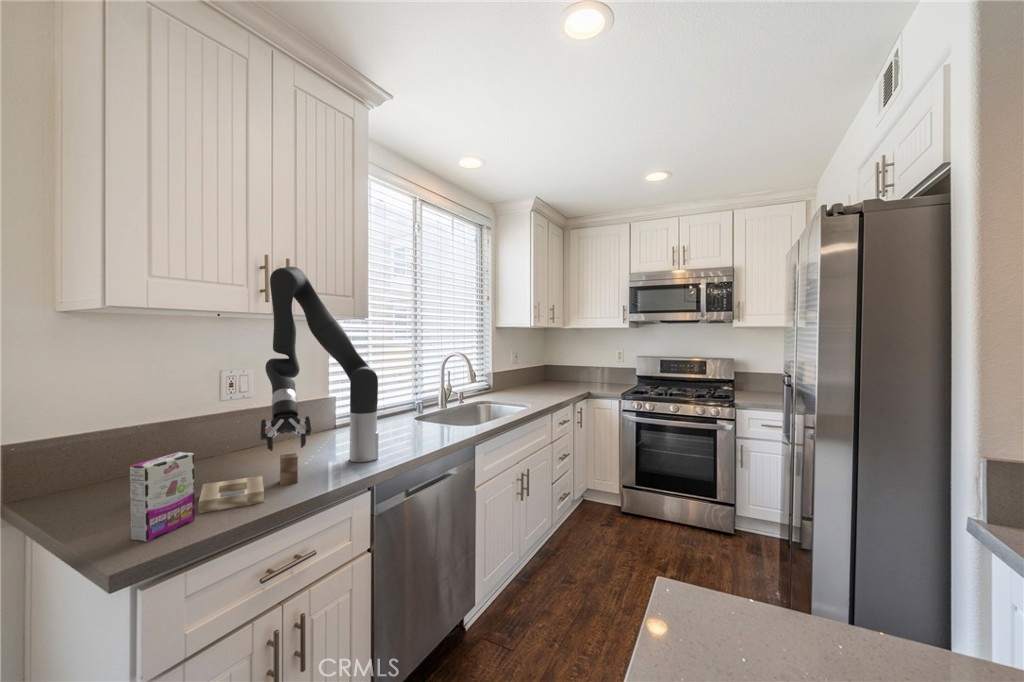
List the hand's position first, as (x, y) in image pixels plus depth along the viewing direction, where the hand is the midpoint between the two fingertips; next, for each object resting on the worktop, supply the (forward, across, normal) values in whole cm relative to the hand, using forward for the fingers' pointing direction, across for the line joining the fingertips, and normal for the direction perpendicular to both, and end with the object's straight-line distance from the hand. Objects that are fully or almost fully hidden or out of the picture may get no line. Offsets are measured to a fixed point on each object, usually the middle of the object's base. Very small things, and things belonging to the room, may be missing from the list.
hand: (287, 447), depth 131 cm
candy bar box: (+25, -27, -11) cm, 38 cm away
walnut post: (+9, 0, +4) cm, 10 cm away
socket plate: (+14, -14, -1) cm, 20 cm away
